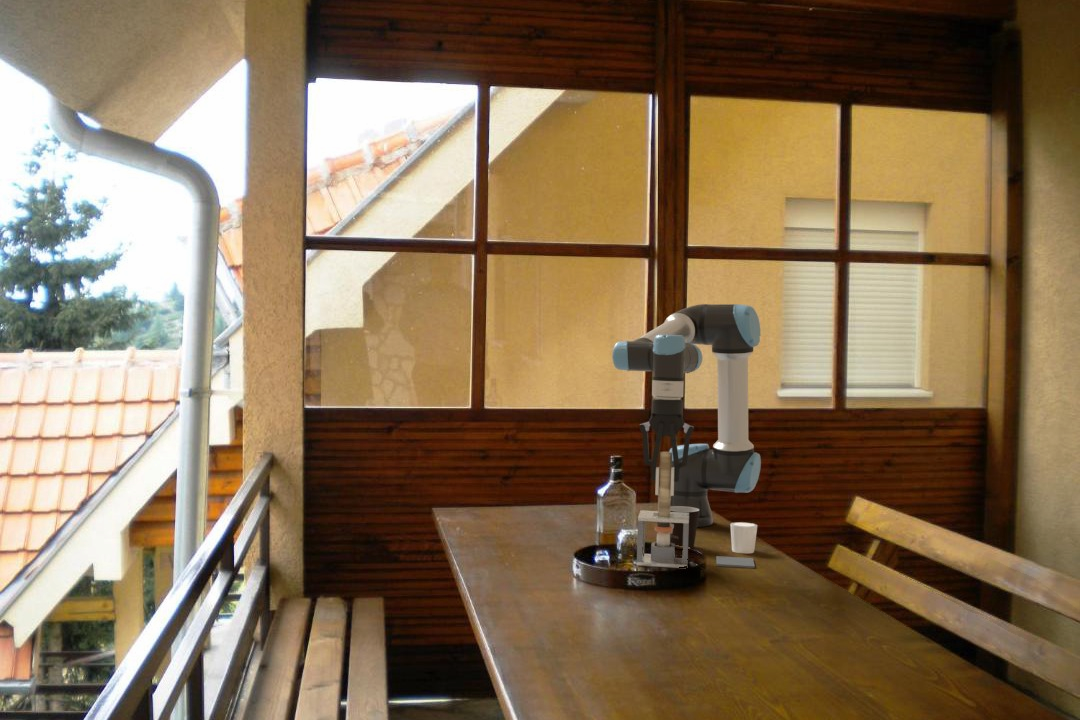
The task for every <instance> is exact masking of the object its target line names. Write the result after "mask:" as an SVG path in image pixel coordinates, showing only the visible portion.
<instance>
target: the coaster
mask: <svg viewBox="0 0 1080 720" xmlns="http://www.w3.org/2000/svg"><path fill="white" fill-rule="evenodd" d="M715 558H716V559H715V561H716V567H723V568H724V567H725V568H726V567H727V568H743V569H755V568H756V566H755V562H754V561H755V560H754V558H753V557H740V556H739V557H737V556H722V555H720V556H719V555H716V557H715Z"/></svg>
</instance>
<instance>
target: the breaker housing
mask: <svg viewBox="0 0 1080 720" xmlns="http://www.w3.org/2000/svg"><path fill="white" fill-rule="evenodd" d="M646 522H655V523H657V522H672V523H683V550H682V555H681V556H682V558H675V553H676V551H675V550H676V549H675V544H673V543H670V547H663V546H657V541H653V542H651V544H650V545H651V546H650V553H644V556H643V558H642V547H643V550H644V551H645V535H646V533H645V531H646ZM688 534H689V513H683V512H670V517H658V510H646V509H645V510H643V509H641V510H640V511H639V513H638V517H637V540H636V541H637V542H636V543H637V544H636V546H637V547H636V548H637V549H636V566H638V567H639V566H640V567H658V568H674V569H680V568H679V567H684V566H687V567H688V563H689V562H688V561H689V550H688ZM687 559H688V560H687Z"/></svg>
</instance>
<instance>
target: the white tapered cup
mask: <svg viewBox="0 0 1080 720" xmlns="http://www.w3.org/2000/svg"><path fill="white" fill-rule="evenodd" d="M757 531H758V524H756V523H753V522H752V523H751V522H747V521H746V522H744V521H740V522H731V523H730V540H731V551H732V553H733V552H734V553H738V554H753V553H755V548H756V547H755V546H756V540H757Z"/></svg>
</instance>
